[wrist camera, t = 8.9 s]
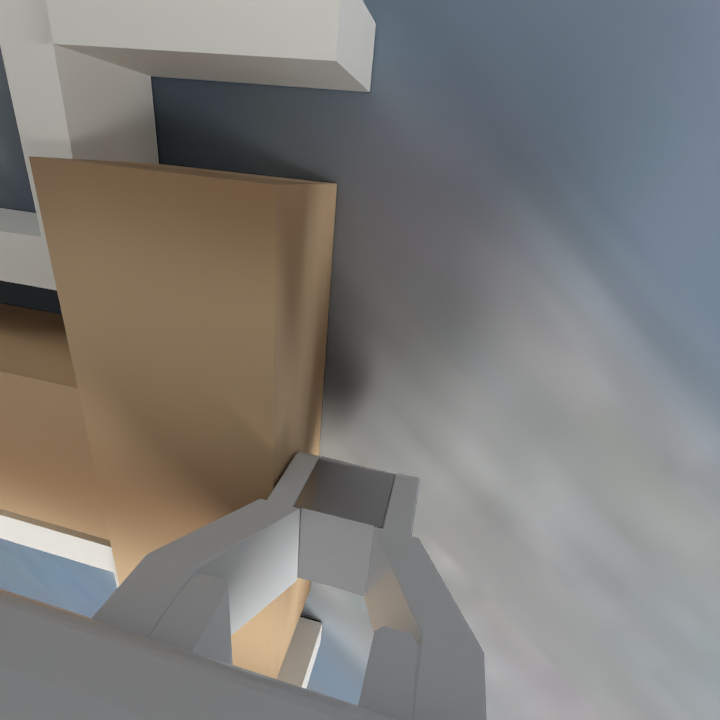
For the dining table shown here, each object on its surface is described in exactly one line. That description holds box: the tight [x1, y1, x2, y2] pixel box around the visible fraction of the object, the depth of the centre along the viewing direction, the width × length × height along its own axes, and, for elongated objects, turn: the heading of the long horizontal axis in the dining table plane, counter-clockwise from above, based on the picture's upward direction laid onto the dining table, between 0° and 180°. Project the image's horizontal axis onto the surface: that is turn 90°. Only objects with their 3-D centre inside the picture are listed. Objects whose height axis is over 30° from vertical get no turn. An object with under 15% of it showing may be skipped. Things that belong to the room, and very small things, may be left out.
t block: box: [0, 156, 337, 679], centre depth 10 cm, size 12×12×3 cm
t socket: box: [0, 0, 376, 689], centre depth 11 cm, size 17×14×2 cm
